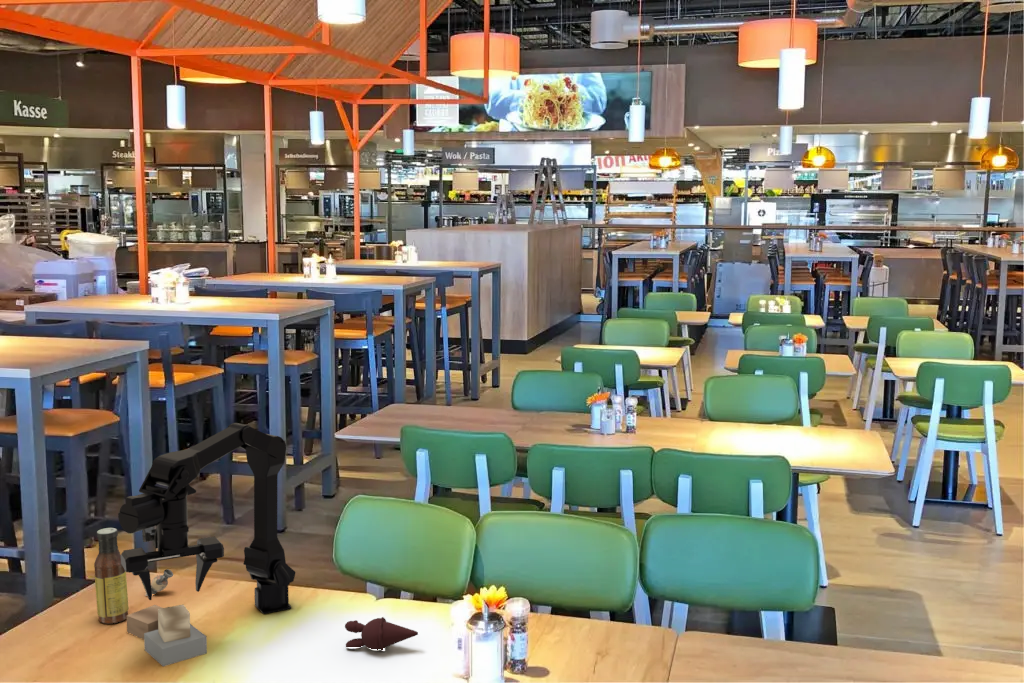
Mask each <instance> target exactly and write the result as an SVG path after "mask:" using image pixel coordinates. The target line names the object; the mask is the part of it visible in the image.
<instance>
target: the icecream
mask: <svg viewBox="0 0 1024 683" xmlns="http://www.w3.org/2000/svg"><path fill="white" fill-rule="evenodd" d="M344 628H345V630H346V631H347V632H350V633H354V634H357V633H358V634H359V633H361V634H360V636H361V637H360V638H359V637H358V638H352V639H350V640H348V641H347V642H346V643H345V648H346V647H361V646H363V647H366V648H367V647H368V648H371V649H377V650H378V649H381V650H383V648H385V647H386V648H387V647H390V646H393V645H395V644H398V643H401V642H403V641H405V640H408V639H410V638H411V639H412V638H413V637H415V636H418V635H419V634H418V631H416V630H414V629H411V628H408V627H405V626H401V625H398V624H395V623H393V622H390V621H387V620H386V618H385V617H384V616H382V617H377V618H374V619H372V620H369V621H368V622H367V623H366V624H363V623H361V622H359V620H350V621H347V622H346V623H345V624H344ZM361 648H362V647H361ZM368 648H367V649H368Z"/></svg>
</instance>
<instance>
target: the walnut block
mask: <svg viewBox="0 0 1024 683" xmlns="http://www.w3.org/2000/svg"><path fill="white" fill-rule="evenodd" d="M161 608H163V607H162V606H159V605H157V604H153V605H151V606H148V607H146V608H141V609H140V610H137V611H134V612H132V613H128V615H127V618H126V633H127V632H128V633H127V634H129V633H131V634H133V635H132V636H134V635H135V636H134V637H136V636H137V637H136V638H138V639H141V638H142V639H141V640H144V633H147V632H151V631H154V630H158V609H161ZM131 634H130V635H131Z"/></svg>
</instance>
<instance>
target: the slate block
mask: <svg viewBox="0 0 1024 683" xmlns="http://www.w3.org/2000/svg"><path fill="white" fill-rule="evenodd" d="M207 639H208V638H207V635H205V633H203V632H202V631H200V629H198V628H196V627H195V626H194V625H192V624H191V623H190V637H189V638H184V639H179V640H174V641H169V642H164V641H163V639H162V638H161V636H160V634H159V633H158V630H154V631H151V632H147V633H144V639H143V642H144V643H143V644H144V651H145V652H146V653H148V655H149V656H151V658H153V659H154V660H155V661H156V662H157V663H158V664H160V665H161V666H162V667H166V666H169V665H172V664H175V663H176V664H177V663H179V662H182V661H186V660H189V659H192V658H197V657H200V656H202V655H206V654H207V653H208V651H207V650H208V646H207V645H208V644H207V641H208V640H207Z"/></svg>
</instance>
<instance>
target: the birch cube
mask: <svg viewBox="0 0 1024 683" xmlns="http://www.w3.org/2000/svg"><path fill="white" fill-rule="evenodd" d="M186 607H187V606H185V604H178V605H173V606H167V607H162V608H161V609H158V633H159V634H160V636H161V638H162V639H163V641H164V642H169V641H174V640H179V639H184V638H189V637H190V624H191V615H190V614H191V613H190V612H189V610H188V609H187V608H186Z"/></svg>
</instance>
